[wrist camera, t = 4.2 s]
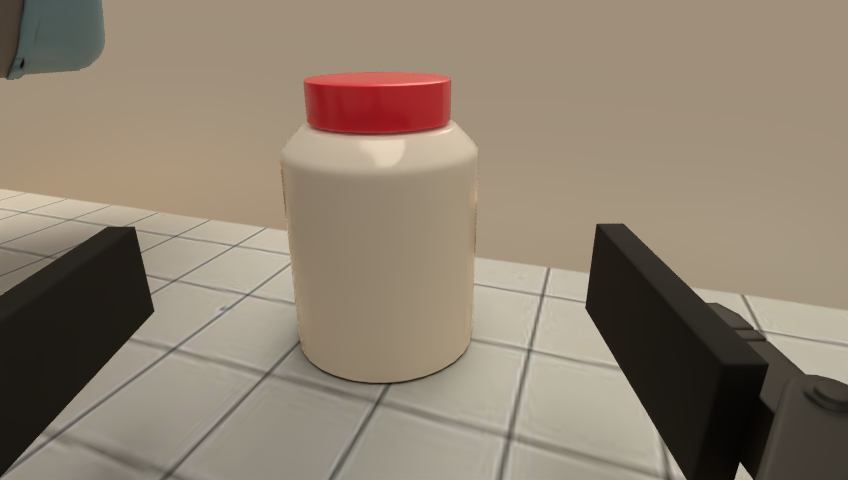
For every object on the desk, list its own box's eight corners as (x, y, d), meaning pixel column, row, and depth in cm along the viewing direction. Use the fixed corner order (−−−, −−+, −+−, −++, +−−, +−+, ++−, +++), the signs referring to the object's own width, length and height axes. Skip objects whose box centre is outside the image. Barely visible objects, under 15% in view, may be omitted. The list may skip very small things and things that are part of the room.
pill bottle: (365, 278, 28) (354, 67, 24) (497, 312, 25) (511, 74, 21) (261, 349, 22) (223, 82, 18) (419, 408, 19) (417, 94, 14)
